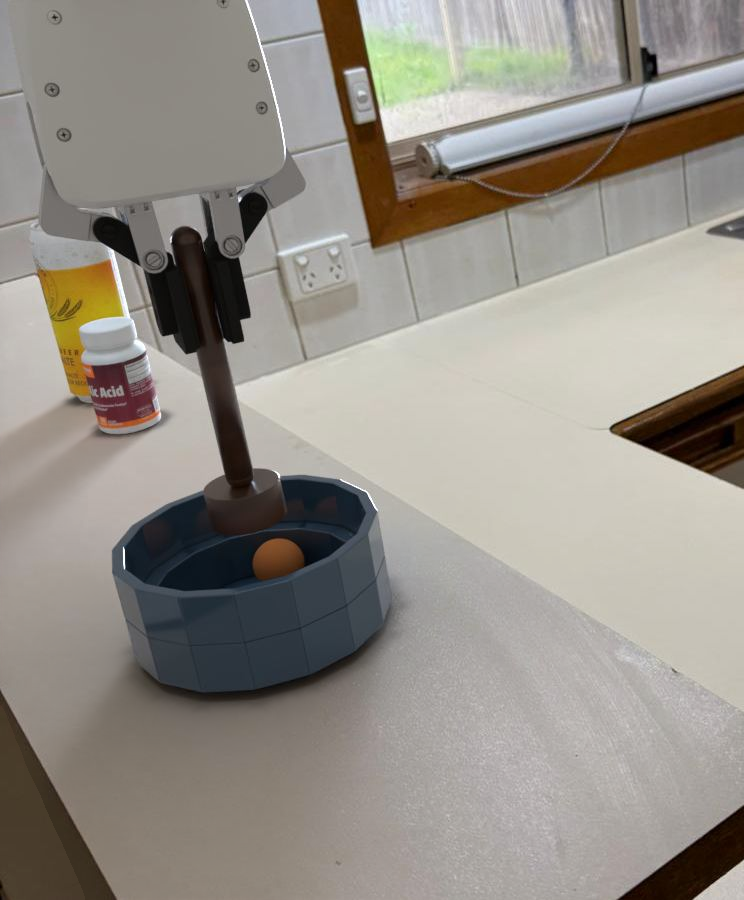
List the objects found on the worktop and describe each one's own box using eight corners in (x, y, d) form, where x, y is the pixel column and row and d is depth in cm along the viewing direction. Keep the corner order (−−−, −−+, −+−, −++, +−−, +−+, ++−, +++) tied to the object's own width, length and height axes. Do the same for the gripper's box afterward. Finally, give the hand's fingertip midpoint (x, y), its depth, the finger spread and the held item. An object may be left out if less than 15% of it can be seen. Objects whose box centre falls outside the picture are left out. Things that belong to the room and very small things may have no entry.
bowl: (98, 709, 56) (66, 604, 53) (189, 573, 68) (166, 482, 65) (365, 694, 55) (345, 587, 53) (409, 560, 67) (394, 468, 65)
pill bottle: (86, 433, 90) (58, 332, 87) (128, 411, 94) (103, 313, 91) (134, 437, 89) (108, 335, 85) (174, 414, 93) (151, 315, 89)
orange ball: (251, 599, 63) (241, 555, 62) (265, 574, 66) (256, 531, 65) (301, 596, 63) (292, 552, 62) (313, 571, 66) (305, 528, 65)
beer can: (70, 390, 100) (23, 220, 94) (142, 375, 103) (101, 209, 97) (75, 410, 95) (26, 233, 89) (151, 394, 98) (108, 220, 92)
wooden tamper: (201, 538, 57) (126, 238, 51) (224, 504, 61) (157, 220, 54) (276, 533, 57) (210, 232, 51) (295, 499, 60) (235, 214, 54)
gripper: (274, -84, 54) (341, 293, 61) (-97, -60, 47) (28, 359, 55) (320, -96, 48) (388, 324, 55) (-98, -71, 41) (42, 403, 49)
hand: (208, 339), depth 55 cm, fingers closed on wooden tamper, 1 cm apart
